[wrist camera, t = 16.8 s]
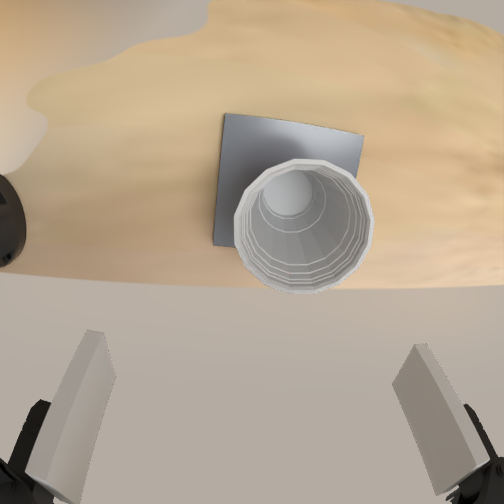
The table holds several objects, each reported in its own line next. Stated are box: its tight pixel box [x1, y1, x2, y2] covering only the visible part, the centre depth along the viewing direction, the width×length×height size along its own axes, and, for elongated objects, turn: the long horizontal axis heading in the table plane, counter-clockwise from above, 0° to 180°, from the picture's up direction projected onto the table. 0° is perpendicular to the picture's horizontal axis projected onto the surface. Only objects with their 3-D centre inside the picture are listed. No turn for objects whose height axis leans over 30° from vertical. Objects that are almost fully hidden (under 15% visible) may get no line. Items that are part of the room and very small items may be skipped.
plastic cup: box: [234, 159, 375, 294], centre depth 28 cm, size 11×11×12 cm
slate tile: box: [213, 113, 364, 248], centre depth 34 cm, size 15×15×1 cm
